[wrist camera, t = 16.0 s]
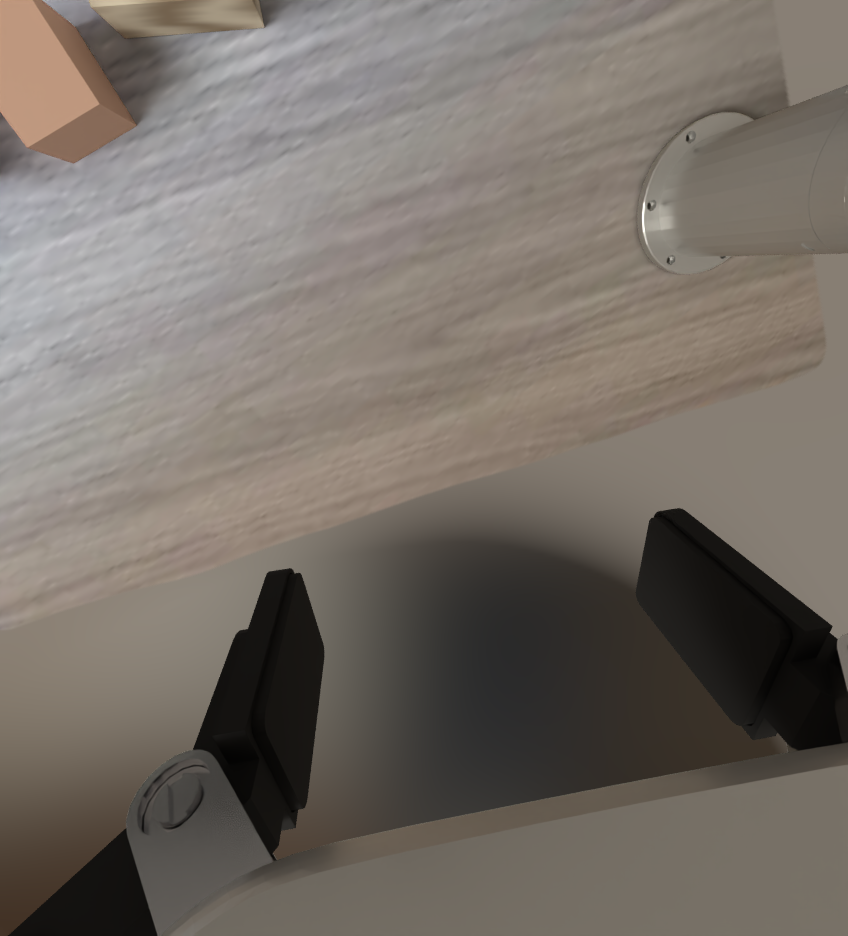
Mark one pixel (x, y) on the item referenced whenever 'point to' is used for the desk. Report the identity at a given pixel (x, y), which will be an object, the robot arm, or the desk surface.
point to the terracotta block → (54, 84)
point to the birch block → (178, 16)
